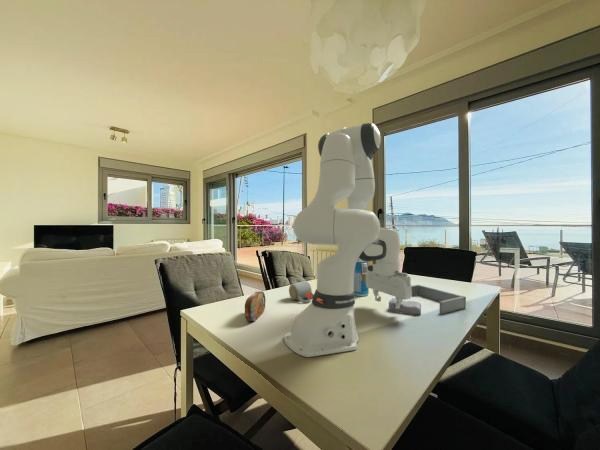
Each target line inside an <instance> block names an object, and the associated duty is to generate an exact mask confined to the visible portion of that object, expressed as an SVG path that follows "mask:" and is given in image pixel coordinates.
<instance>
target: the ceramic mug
mask: <svg viewBox="0 0 600 450" xmlns="http://www.w3.org/2000/svg"><path fill="white" fill-rule="evenodd" d="M306 292H311V293H313V292H312V286H311V284H310V283H309V282H308V281H307V280H302V281H299V282H295V283H292V284H291V285H289V288H288V293H289V296H290V298H291V299H292V300H293V301H299V302H300V303H303V304H309V303H310V302H312V299H307V298H306V297H305V295H306Z"/></svg>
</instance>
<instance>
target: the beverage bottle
mask: <svg viewBox="0 0 600 450" xmlns="http://www.w3.org/2000/svg"><path fill="white" fill-rule="evenodd" d="M367 265H369V263H368V262H367V261H362V260H360V259H358V260H357V262H356V266H355V271H354V285H353V290H354V292H355V297H367V296H368V295H369V294H370V292H369V289H370V288H368V287H367V286H366V273H367V270H366V266H367Z"/></svg>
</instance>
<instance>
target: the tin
mask: <svg viewBox="0 0 600 450" xmlns="http://www.w3.org/2000/svg"><path fill="white" fill-rule="evenodd" d="M265 309H266V295H265V292H264V291H255V292H254V293H252V294H250V295H249V297H248V298H246V300H245V303H244V319H246V321H248V322H256V321H257V320H258V319H259V318H260V317H261V315H263V314H264V312H265Z"/></svg>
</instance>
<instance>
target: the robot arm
mask: <svg viewBox="0 0 600 450" xmlns="http://www.w3.org/2000/svg"><path fill="white" fill-rule="evenodd" d="M381 138H382V137H381V133H380V130H379V129H378V126H377V125H376V124H374V123H372V122H369V123H368V122H367V123H362V124H359V125H352V126H348V127H343V128H339V129H337V130H334V131H332V132H327V133H324V135H322V136H321V137H320V139H319V140H318V144H317V148H318V154H319V157H320V164H319V176H318V177H319V178H318V187H317V191H316V193H315V194H314V195H315V196H314V198H313V199H312V200H311V201H310V203H309V204H308V205H307V206H306V207H305V208H304V209H303V210H301V211H299V212H298V213H297V215H296V216H295V218H294V221H293V232H294V235H295V237H296V238H297V240H298V241H300V242H302V243H305V244H309V245H310V244H311V245H318V246H319V245H321V246H324V245H325V246H337V251H336V252H335V253H334V254H332V255H329V256H327V257H325V258H324V259H321V261H320V262H318V265H317V267H316V289H315V291H314V293H313V292H312V293H311V292H306V295H305V297H306V299H307V300H309V299H311V303H310V304H309V305H308V306H307V307H305V308H304V310H302V311H301V312H300V313H299V314H298V315H297V316H296V317H295V318H294V320H293V322H292V327H291V331H289V332H286V333H285V334H284V337H283V338H284V343H285V345H286V346H287V347H288V348H289V349H290V350H291V351H292V352H294V353H295V354H297V355H299V356H301V357H305V358H312V357H313V358H314V357H318V356H325V355H331V354H336V353H337V354H339V353H344V352H349V351H350V352H351V351H355V350H357V347H358V345H357V343H358V341H359V339H360V338H359V334H358V332H357V331H358V330H357V325H356V319H355V309H354V306H355V303H356V295H355V292H354V290H353V285H354V271H355V266H356V262H357V260H358V259H360V260H362V261H367V263H368V262H373V261H375V263H372V264H368V265H367V266H366V270H367V273H366V286H367V287H368V288H369V289H371V290H372V293H373V295H374V300H375V301H376V302H381V299H382V297H381V296H380V293H383V294H387V295H389V296H391V297H395V299H396V300H397V301H396V303H394V308H396V309H399V308H400V303H401V302H402V300H403V301H406V300H409V299H411V298H412V297H413V296H412V289H411V286H412V282H411V277H410V276H409V274H408V273H407V272H401V271H400V269H401V268H400V266H401V261H400V258H399V257H400V253H401V239H400V233H399V231H397V229H394V228H390V227H384V226H381V224H380V223H381V222H380V219H379V218H378V216H377V214H375V212H373V211H371V210H367V207H368V205H369V204H370V203H371V201H372V200H373V199H374V198H375V197H374V196H375V191H376V181H375V172H374V171H375V170H374V165H373V162H372V160H373V159H374V157H375V155H376V154H377V153H378V151H379V150H380V147H381V140H382V139H381ZM345 199H347V208H335V206H336V205H337V204H338V203H339V202H341V201H342V200H345ZM379 292H380V293H379Z"/></svg>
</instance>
